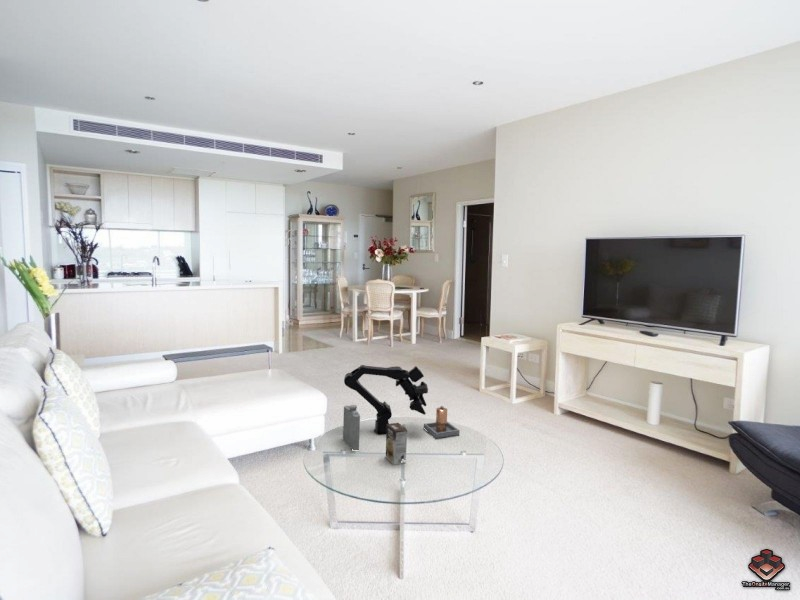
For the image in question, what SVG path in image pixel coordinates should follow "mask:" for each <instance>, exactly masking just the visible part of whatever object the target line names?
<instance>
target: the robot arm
mask: <svg viewBox="0 0 800 600" xmlns="http://www.w3.org/2000/svg"><path fill="white" fill-rule="evenodd" d="M363 375H369V376H380V377H382V376H383V377H388V378H390V379H392V380H395V387H399V386H400V387H401V388H402V390H403V391H404V394H405V396H406V395H407V396H408V398H409V399H408V400H409V401H410V403H409V409H410V411H415V412H418V413H419V414H422V415H423V416H425V415H426V414H427V413H426V411H425V408H424V407H426V406H427V402H426V401H425V398H424V394H428V393H429V388H428V384H427V383H425V381H420V380H421V379H423V378H424V377H425V375H424V373H423V372H422V371H421V369H419V368H418V366H417V365H415V366H414V367H412V368H411V369H410V370H406V369H403V368H402V367H401V366H398V365H397V366H396V365H395V366H389V367H383V366H374V365H373V366H372V365H371V366H370V365H364V364H363V365H362V364H360V366H358V367H357V368H355V369H353V370H352V371H351V372H347V373H346V374H345V375H344V379H343V380H344V381H343V382H344V385H345V386H346V387H347V388H349V389H351V390H354V391H355V392H356V393H358V395H360V396H361V397H363V399H364V400H366V401H367V402H368V403H369V404H370V405H371V406H372V407H373V408H374V409H375V410H376V415H375V417H376V420H375V423H374V425H375V426H374V428H373V431H374V433H376V434H377V435H384V434H385V435H386V432H387V424H390V422H389V420H390V419H391V418H392V415H393V413H392V409H391V405H390V404H388V403H387V402H386V401H385V400H384V401H383V402H382V401H381V400H379V399H377V398H376V397H375V396H374V395H373V394H372V393H371V392H370V391H369V390H368V389H367V388H366V387H364V386H363V384H361V382H360V380H359V379H360V378H362V376H363ZM418 381H420V384H418V385H417V384H413V383H417V382H418ZM423 406H424V407H423Z"/></svg>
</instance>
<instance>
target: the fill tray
mask: <svg viewBox="0 0 800 600" xmlns="http://www.w3.org/2000/svg"><path fill="white" fill-rule="evenodd" d="M424 428H425V429H426V430H427V431H428V432H429V433H430V434H431V435H432V436H433V437H432V436H431V435H430V434H429V433H428V432H427V433H428V434H429V435H430V436H431V437H432V438H434V439H435V440H441V439H446V438H452V437H453V438H454V437H459V436H460V429H459V428H457V427H456V426H454V425H453V424H451V423H450V422H449V421H447V431H445V432H439V433H438V432H436V421H435V422H427V423H423V429H424Z"/></svg>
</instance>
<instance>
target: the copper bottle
mask: <svg viewBox="0 0 800 600" xmlns="http://www.w3.org/2000/svg"><path fill="white" fill-rule="evenodd" d="M435 409H436V413H435V422H436V432H438V433H439V432H445V431H447V422H448V408H446V407H444V406H443V405H440V407H436V408H435Z"/></svg>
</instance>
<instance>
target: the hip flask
mask: <svg viewBox="0 0 800 600" xmlns="http://www.w3.org/2000/svg"><path fill="white" fill-rule="evenodd" d="M357 408H358V406H357V405H355V404H350V405H344V406H343V422H342V423H343V426H342V428H343V429H342V430H343V431H342V435H343V436H342V441H343V442H344V443H346V444H347V445H348V446H349V447H350V448H352V449H353V450H359V451H360V429H361V428H360V427H361V424H360V423H361V421H360V419H361V415H360V413H359V411H357ZM352 449H351V450H352Z"/></svg>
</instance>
